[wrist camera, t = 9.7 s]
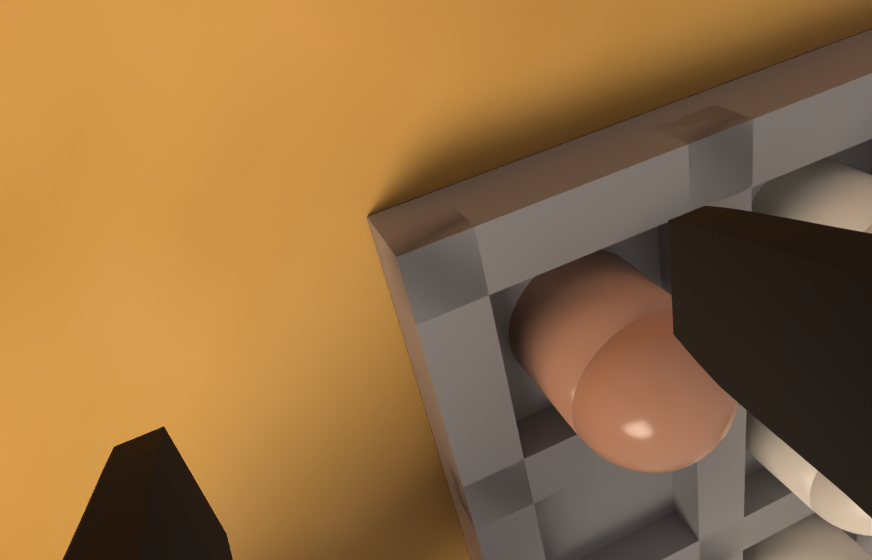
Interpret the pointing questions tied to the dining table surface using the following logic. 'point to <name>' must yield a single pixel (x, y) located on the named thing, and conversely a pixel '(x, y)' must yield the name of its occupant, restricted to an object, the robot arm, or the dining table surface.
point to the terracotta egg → (618, 365)
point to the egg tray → (649, 253)
